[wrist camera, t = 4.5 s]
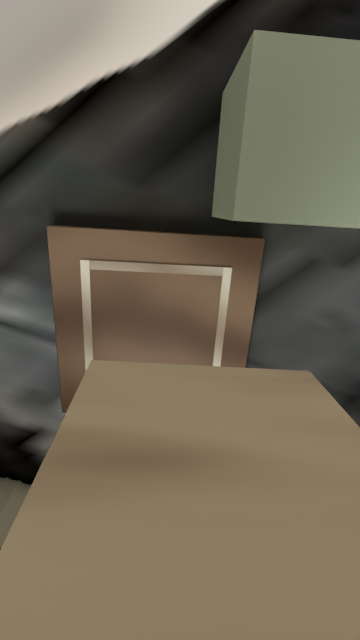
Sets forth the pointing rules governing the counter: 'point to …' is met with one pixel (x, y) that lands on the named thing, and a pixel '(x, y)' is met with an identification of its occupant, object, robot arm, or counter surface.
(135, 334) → the walnut board
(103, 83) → the counter surface
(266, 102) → the sage block
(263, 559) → the beech block
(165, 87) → the counter surface
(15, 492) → the canister
